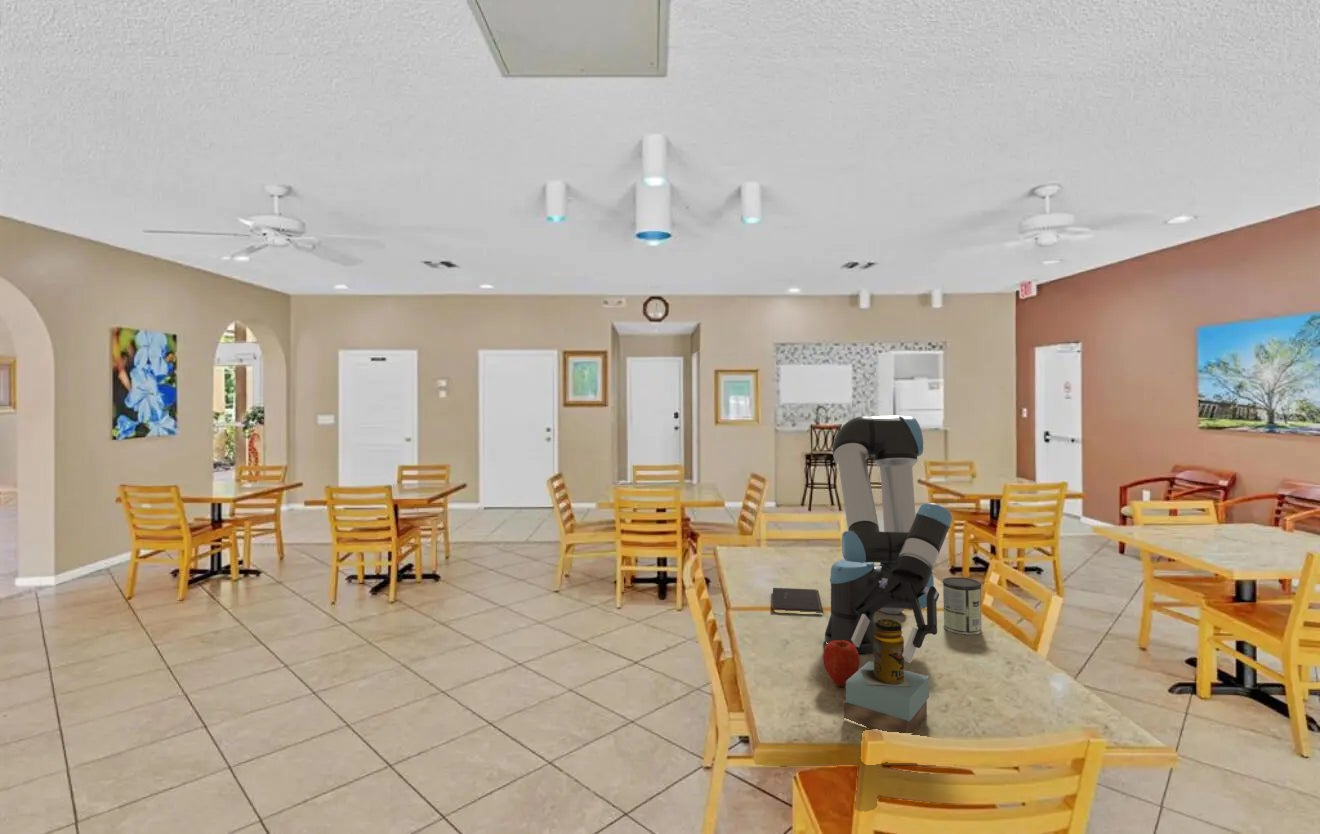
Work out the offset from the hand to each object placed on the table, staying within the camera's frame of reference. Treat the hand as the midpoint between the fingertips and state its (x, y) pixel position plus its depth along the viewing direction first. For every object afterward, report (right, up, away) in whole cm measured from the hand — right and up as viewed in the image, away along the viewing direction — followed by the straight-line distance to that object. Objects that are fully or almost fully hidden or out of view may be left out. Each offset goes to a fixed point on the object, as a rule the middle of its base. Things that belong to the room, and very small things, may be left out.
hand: (879, 651), depth 128 cm
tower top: (+3, -11, +2) cm, 12 cm away
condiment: (+2, -7, +3) cm, 8 cm away
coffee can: (+44, -14, +54) cm, 71 cm away
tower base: (+2, -16, +2) cm, 16 cm away
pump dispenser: (+29, -14, +71) cm, 78 cm away
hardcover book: (+1, -15, +81) cm, 82 cm away
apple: (-3, -15, +18) cm, 24 cm away
